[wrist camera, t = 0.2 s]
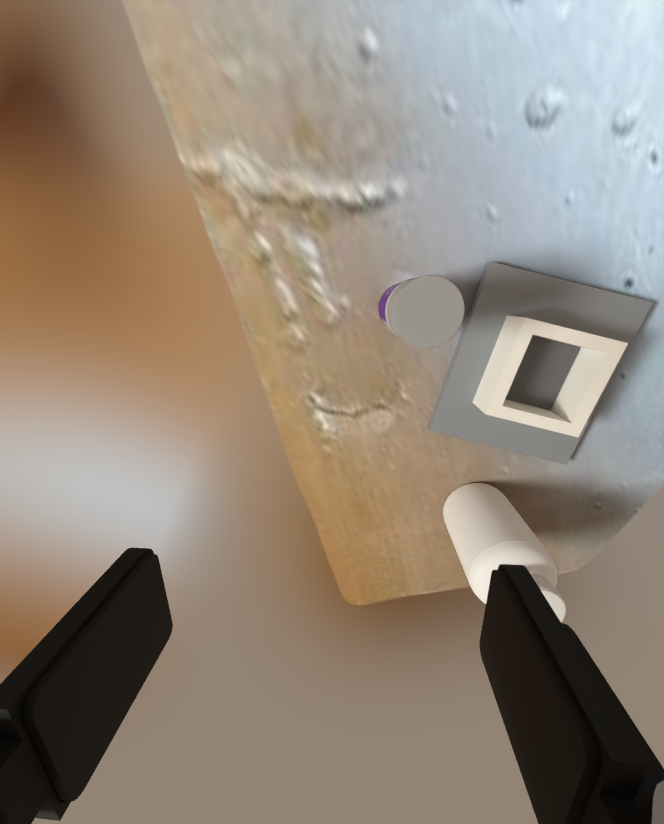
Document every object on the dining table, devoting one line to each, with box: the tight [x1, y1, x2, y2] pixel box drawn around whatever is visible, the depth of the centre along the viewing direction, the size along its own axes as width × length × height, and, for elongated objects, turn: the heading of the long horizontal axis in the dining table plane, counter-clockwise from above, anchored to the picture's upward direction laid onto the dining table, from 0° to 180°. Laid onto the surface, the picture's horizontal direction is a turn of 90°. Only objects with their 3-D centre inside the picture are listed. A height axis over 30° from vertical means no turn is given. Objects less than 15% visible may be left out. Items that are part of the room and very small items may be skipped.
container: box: [378, 275, 465, 349], centre depth 28 cm, size 5×5×15 cm
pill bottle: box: [443, 483, 566, 622], centre depth 35 cm, size 8×8×15 cm
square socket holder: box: [428, 262, 653, 464], centre depth 34 cm, size 18×16×5 cm
